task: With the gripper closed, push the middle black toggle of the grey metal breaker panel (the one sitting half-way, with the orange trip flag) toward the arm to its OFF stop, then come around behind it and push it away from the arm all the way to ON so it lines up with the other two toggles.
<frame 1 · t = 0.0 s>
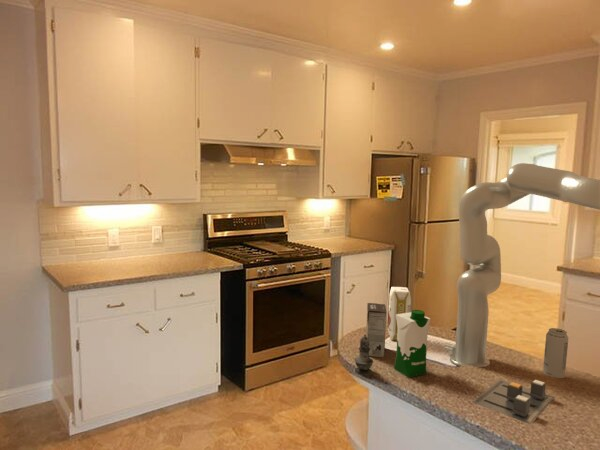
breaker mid: (514, 391, 124), point 4 cm above the counter, slide at 4.0 cm
grey ornate incense burner: (363, 371, 142), on the counter
juice carton: (397, 338, 173), on the counter
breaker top: (538, 388, 125), point 4 cm above the counter, slide at 8.0 cm
coffee box: (374, 352, 159), on the counter
milk carton: (409, 371, 143), on the counter
panel: (513, 403, 124), on the counter
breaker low: (521, 405, 116), point 4 cm above the counter, slide at 8.0 cm
energy drink can: (553, 377, 142), on the counter
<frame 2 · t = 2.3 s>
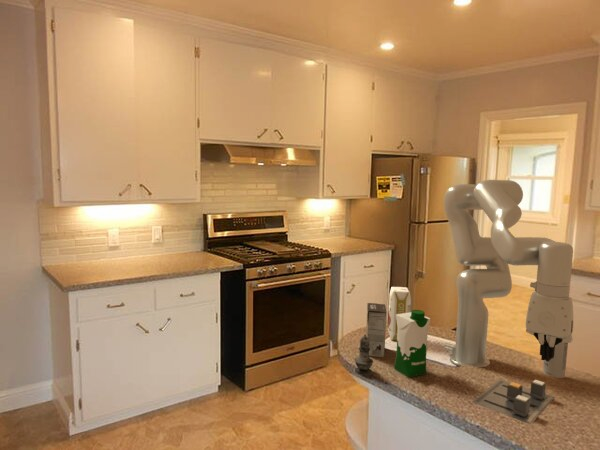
hand: (546, 359, 117), 15 cm above the counter, fingers closed
nothing on the counter moved.
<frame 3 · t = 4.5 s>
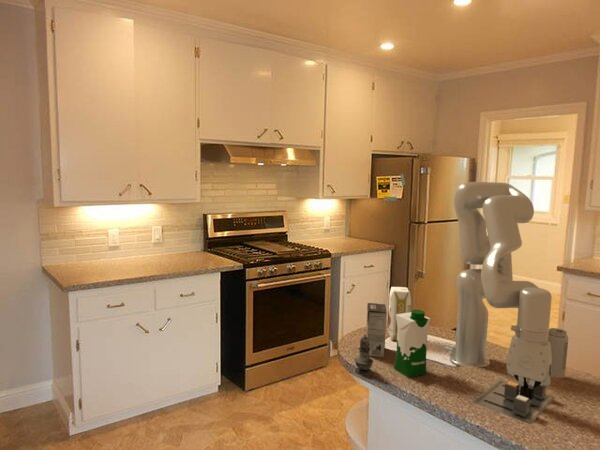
hand: (526, 400, 122), 2 cm above the counter, fingers closed
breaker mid: (512, 390, 124), point 4 cm above the counter, slide at 3.3 cm, touching gripper
everything else where it was.
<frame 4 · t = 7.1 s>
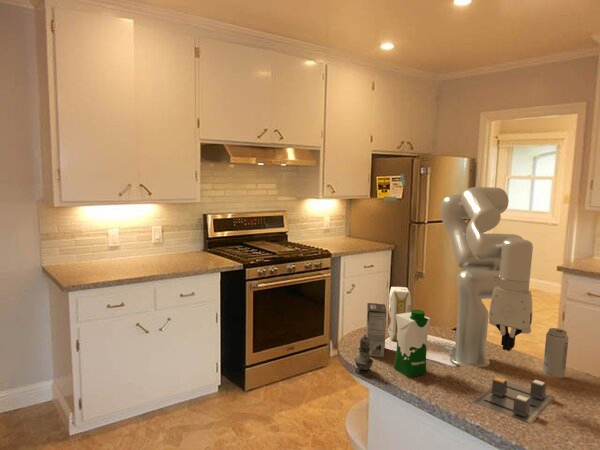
hand: (507, 348, 125), 15 cm above the counter, fingers closed
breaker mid: (499, 386, 126), point 4 cm above the counter, slide at -0.1 cm
everything else where it was.
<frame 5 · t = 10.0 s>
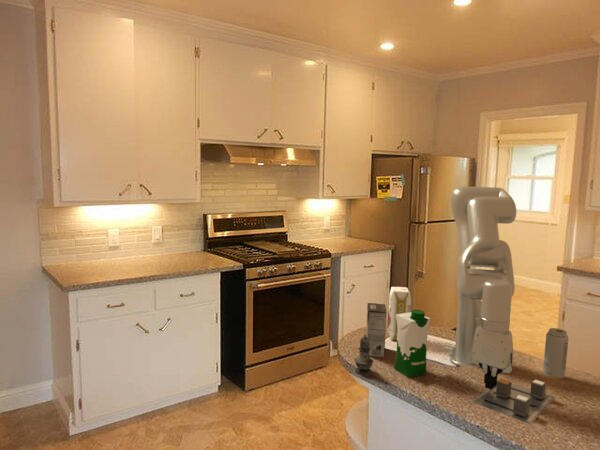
hand: (490, 387, 128), 2 cm above the counter, fingers closed
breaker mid: (503, 387, 126), point 4 cm above the counter, slide at 1.1 cm, touching gripper
everything else where it was.
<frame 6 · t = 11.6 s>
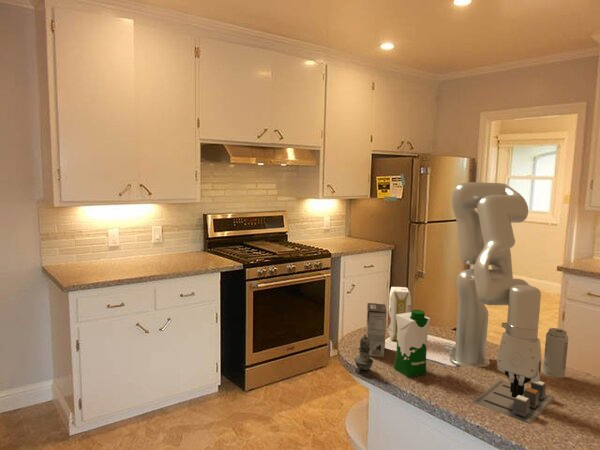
hand: (516, 396, 123), 2 cm above the counter, fingers closed
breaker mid: (531, 396, 121), point 4 cm above the counter, slide at 8.2 cm, touching gripper
everything else where it was.
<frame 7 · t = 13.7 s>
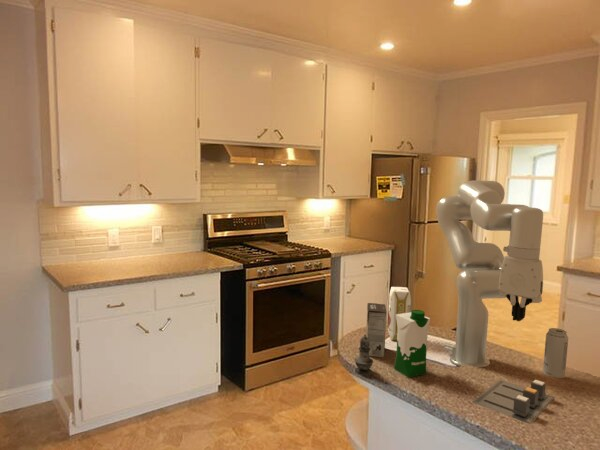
hand: (517, 319, 123), 23 cm above the counter, fingers closed
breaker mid: (530, 396, 121), point 4 cm above the counter, slide at 8.1 cm
everything else where it was.
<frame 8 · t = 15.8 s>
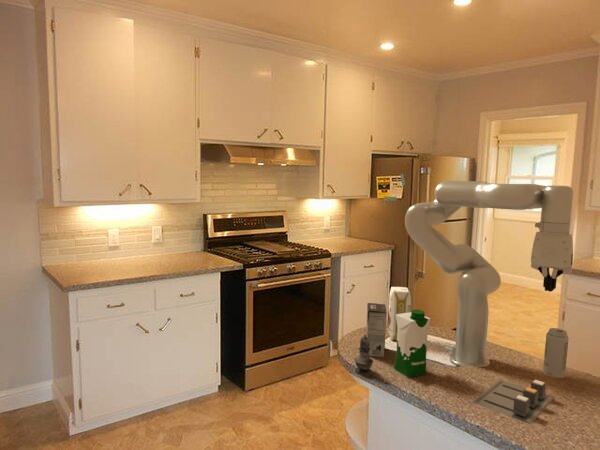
hand: (549, 290, 133), 29 cm above the counter, fingers closed
nothing on the counter moved.
at the end: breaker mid slide at 8.1 cm; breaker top slide at 8.0 cm; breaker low slide at 8.0 cm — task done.
